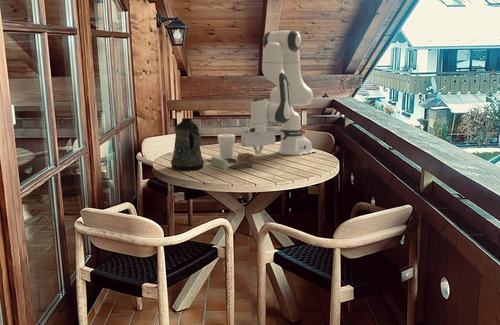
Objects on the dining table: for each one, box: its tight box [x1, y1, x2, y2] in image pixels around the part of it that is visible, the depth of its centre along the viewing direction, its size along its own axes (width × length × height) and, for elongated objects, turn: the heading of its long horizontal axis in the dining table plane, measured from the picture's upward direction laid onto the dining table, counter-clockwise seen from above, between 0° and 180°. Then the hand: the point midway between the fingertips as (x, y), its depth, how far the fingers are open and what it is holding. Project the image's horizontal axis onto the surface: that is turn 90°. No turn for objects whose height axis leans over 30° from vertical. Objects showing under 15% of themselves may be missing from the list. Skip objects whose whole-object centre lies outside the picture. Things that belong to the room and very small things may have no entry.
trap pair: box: [224, 157, 253, 170], centre depth 263 cm, size 10×21×1 cm, turn 31°
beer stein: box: [170, 118, 205, 172], centre depth 253 cm, size 16×19×25 cm
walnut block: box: [237, 152, 254, 165], centre depth 267 cm, size 6×6×5 cm
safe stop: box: [211, 155, 229, 170], centre depth 259 cm, size 2×14×4 cm, turn 30°
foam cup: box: [217, 133, 236, 159], centre depth 279 cm, size 10×9×13 cm
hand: (258, 153), depth 269 cm, fingers closed
